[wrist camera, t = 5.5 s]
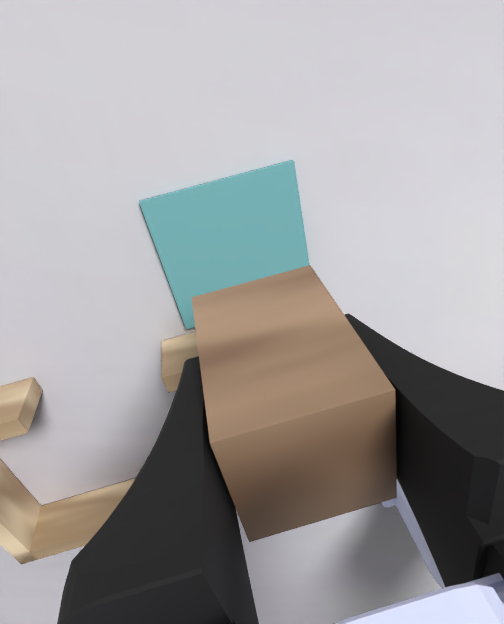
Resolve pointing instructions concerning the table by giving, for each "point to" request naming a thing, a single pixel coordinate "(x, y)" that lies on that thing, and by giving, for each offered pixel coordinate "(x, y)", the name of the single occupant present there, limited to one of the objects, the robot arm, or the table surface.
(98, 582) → the robot arm
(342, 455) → the walnut block
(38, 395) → the open wooden frame
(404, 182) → the table surface
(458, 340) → the table surface
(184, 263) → the mat
